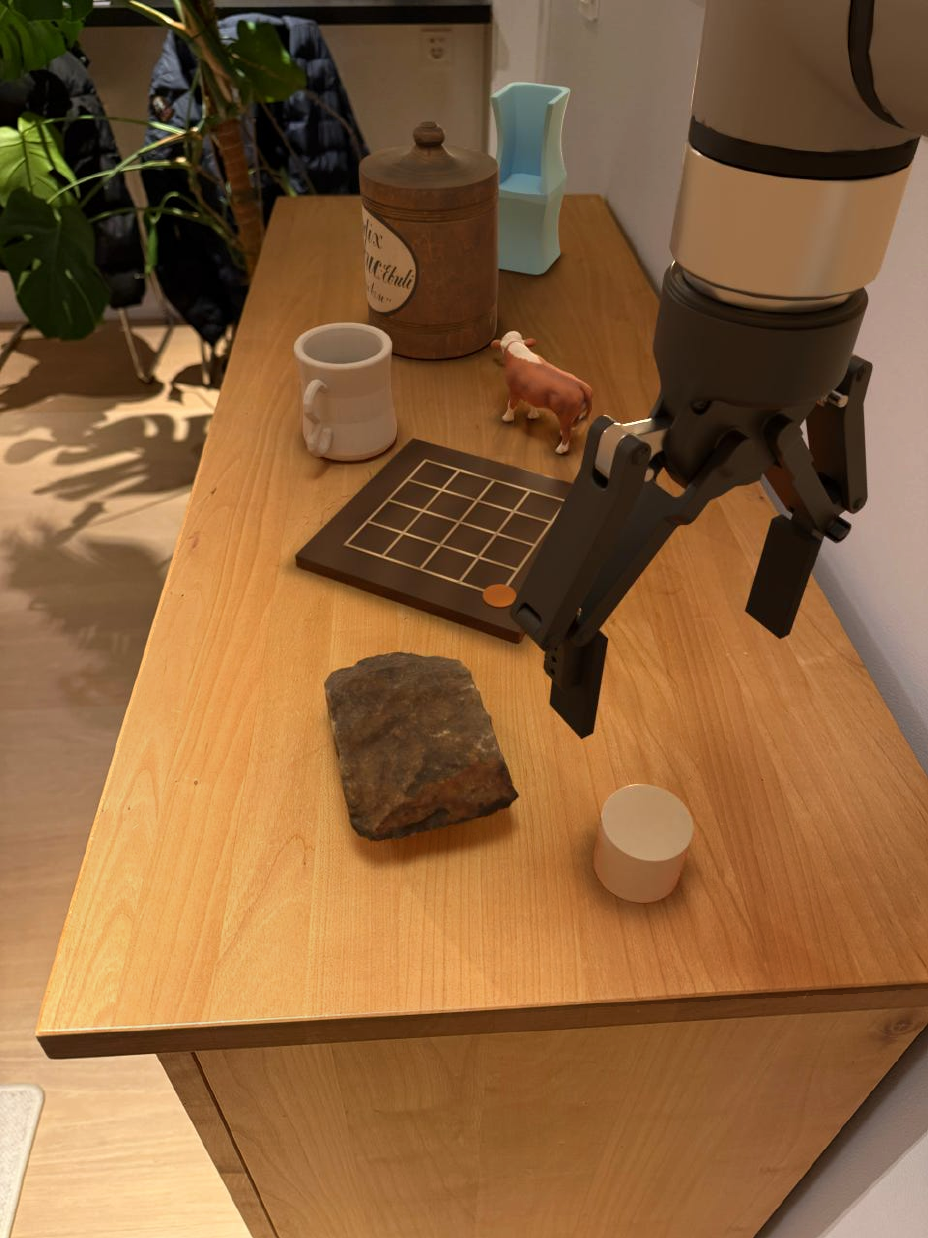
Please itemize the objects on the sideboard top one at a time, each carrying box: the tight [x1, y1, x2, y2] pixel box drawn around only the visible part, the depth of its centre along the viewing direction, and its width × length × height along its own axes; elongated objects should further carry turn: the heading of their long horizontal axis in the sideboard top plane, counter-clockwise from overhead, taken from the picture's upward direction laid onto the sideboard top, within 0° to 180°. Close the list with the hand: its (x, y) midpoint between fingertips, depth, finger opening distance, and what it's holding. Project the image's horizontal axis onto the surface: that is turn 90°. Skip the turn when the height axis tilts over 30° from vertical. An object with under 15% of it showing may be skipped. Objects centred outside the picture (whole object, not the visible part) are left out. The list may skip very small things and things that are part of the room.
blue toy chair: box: [489, 81, 571, 276], centre depth 115 cm, size 8×8×20 cm
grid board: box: [294, 437, 573, 644], centre depth 78 cm, size 20×20×1 cm
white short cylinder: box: [592, 783, 694, 904], centre depth 53 cm, size 5×5×4 cm
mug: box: [293, 322, 398, 462], centre depth 85 cm, size 12×9×10 cm
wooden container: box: [358, 120, 499, 360], centre depth 99 cm, size 15×15×22 cm
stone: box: [323, 651, 520, 843], centre depth 58 cm, size 10×14×6 cm
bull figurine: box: [490, 330, 594, 455], centre depth 88 cm, size 4×13×8 cm, turn 36°
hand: (674, 668), depth 48 cm, fingers open, 13 cm apart
